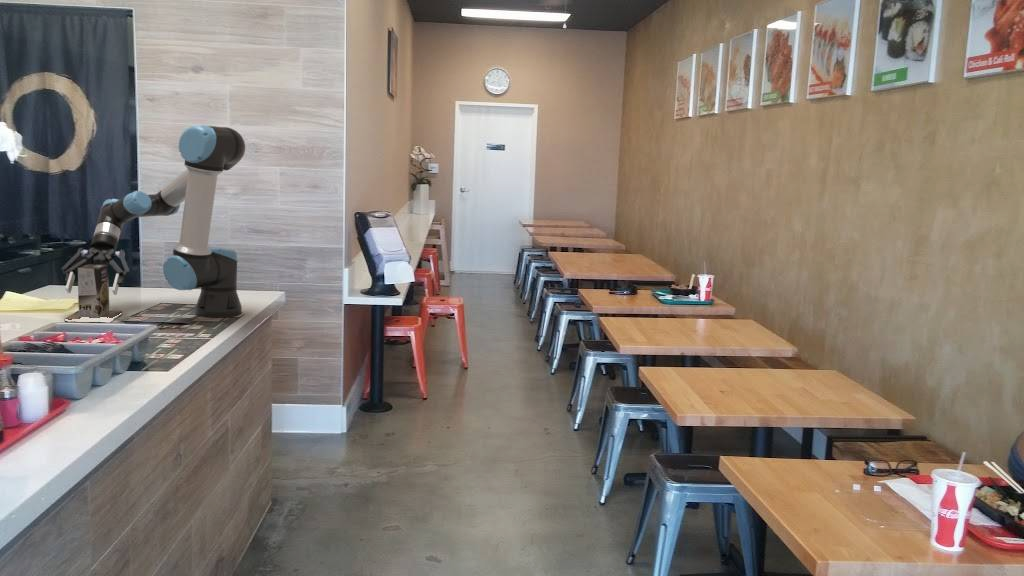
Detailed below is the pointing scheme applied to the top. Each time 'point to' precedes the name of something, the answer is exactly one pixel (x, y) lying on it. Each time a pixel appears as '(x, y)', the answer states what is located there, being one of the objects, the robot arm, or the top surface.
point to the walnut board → (110, 315)
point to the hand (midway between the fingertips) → (91, 291)
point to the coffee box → (93, 290)
